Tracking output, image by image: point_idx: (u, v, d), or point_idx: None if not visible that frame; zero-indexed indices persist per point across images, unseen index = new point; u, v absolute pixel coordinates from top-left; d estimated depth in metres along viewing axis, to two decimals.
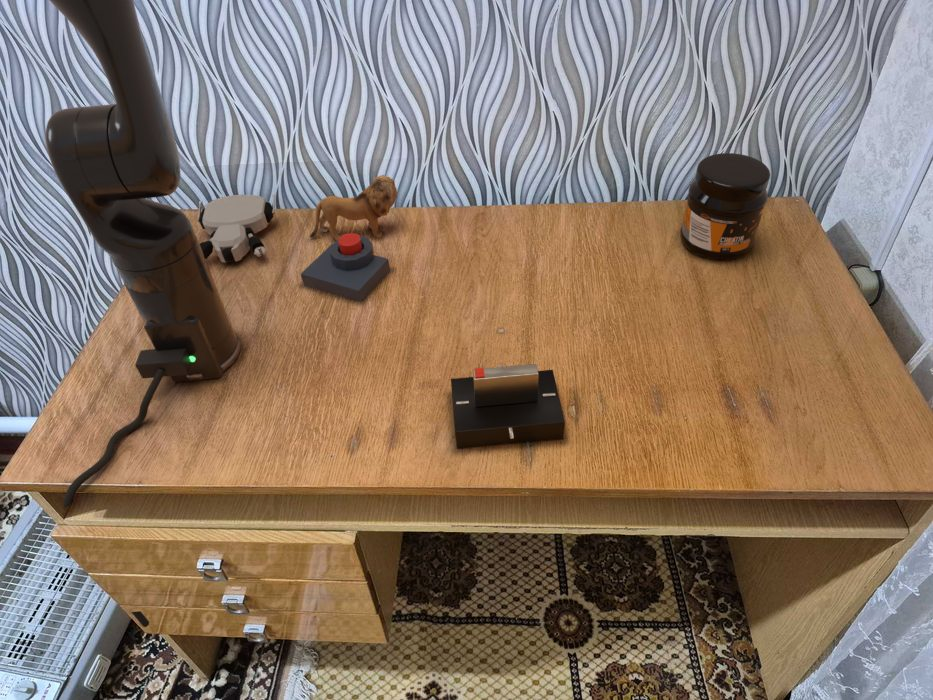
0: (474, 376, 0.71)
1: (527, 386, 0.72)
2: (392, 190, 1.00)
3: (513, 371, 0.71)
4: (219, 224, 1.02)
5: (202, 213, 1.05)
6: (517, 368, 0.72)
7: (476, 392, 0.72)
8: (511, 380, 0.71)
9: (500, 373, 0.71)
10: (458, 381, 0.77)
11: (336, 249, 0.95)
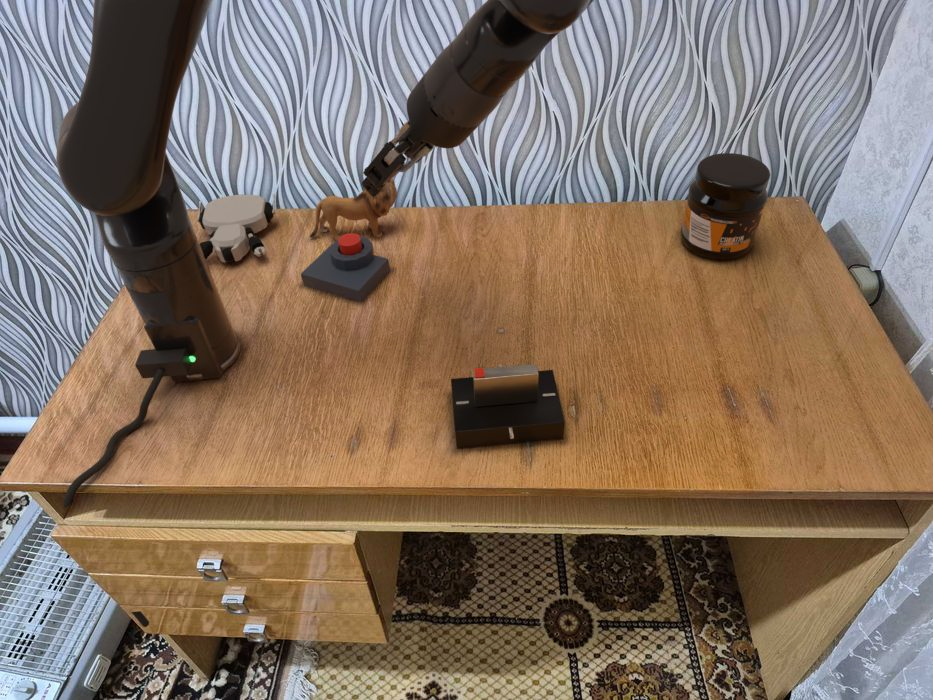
0: (474, 376, 0.71)
1: (527, 386, 0.72)
2: (392, 190, 1.00)
3: (513, 371, 0.71)
4: (219, 223, 1.02)
5: (202, 213, 1.05)
6: (517, 368, 0.72)
7: (476, 392, 0.72)
8: (511, 380, 0.71)
9: (500, 373, 0.71)
10: (458, 381, 0.77)
11: (336, 249, 0.95)
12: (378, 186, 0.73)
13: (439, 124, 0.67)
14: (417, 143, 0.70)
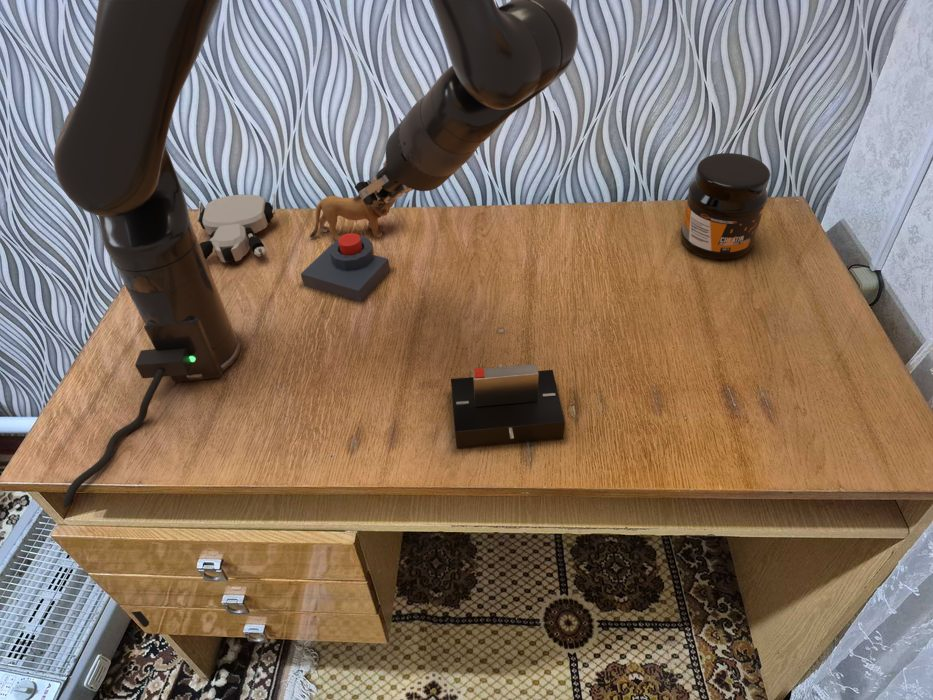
0: (474, 376, 0.71)
1: (527, 386, 0.72)
2: None
3: (513, 371, 0.71)
4: (219, 223, 1.02)
5: (202, 213, 1.05)
6: (517, 368, 0.72)
7: (476, 392, 0.72)
8: (511, 380, 0.71)
9: (500, 373, 0.71)
10: (458, 381, 0.77)
11: (336, 249, 0.95)
12: None
13: (409, 168, 0.68)
14: (391, 181, 0.71)
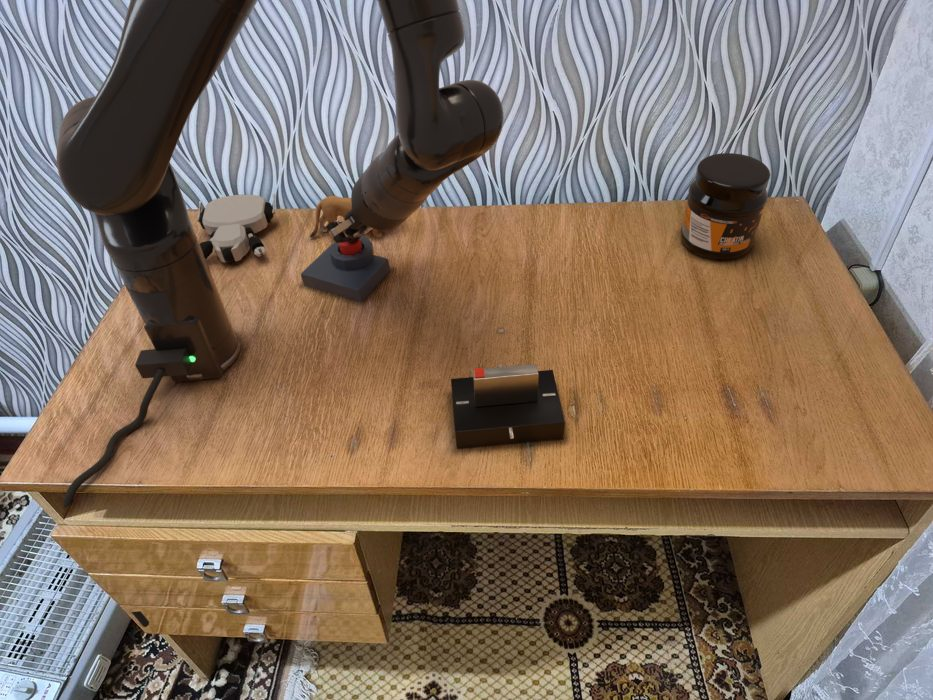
0: (474, 376, 0.71)
1: (527, 386, 0.72)
2: None
3: (513, 371, 0.71)
4: (219, 223, 1.02)
5: (202, 213, 1.05)
6: (517, 368, 0.72)
7: (476, 392, 0.72)
8: (511, 380, 0.71)
9: (500, 373, 0.71)
10: (458, 381, 0.77)
11: (336, 249, 0.95)
12: (345, 241, 0.89)
13: (370, 213, 0.79)
14: (356, 222, 0.82)
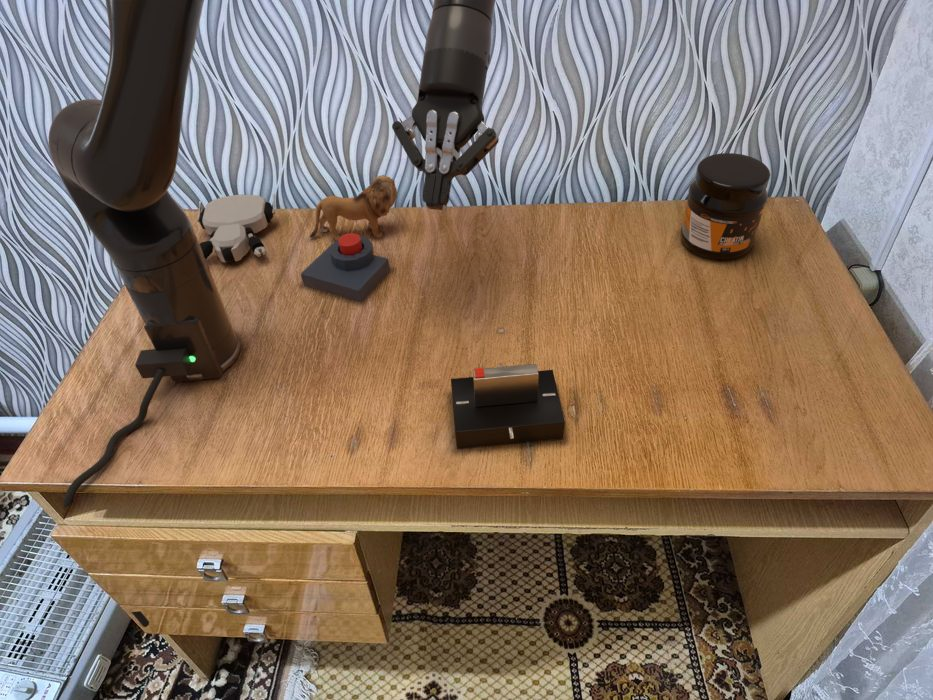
0: (474, 376, 0.71)
1: (527, 386, 0.72)
2: (392, 190, 1.00)
3: (513, 371, 0.71)
4: (219, 223, 1.02)
5: (202, 213, 1.05)
6: (517, 368, 0.72)
7: (476, 392, 0.72)
8: (511, 380, 0.71)
9: (500, 373, 0.71)
10: (458, 381, 0.77)
11: (336, 249, 0.95)
12: (468, 172, 0.77)
13: None
14: None
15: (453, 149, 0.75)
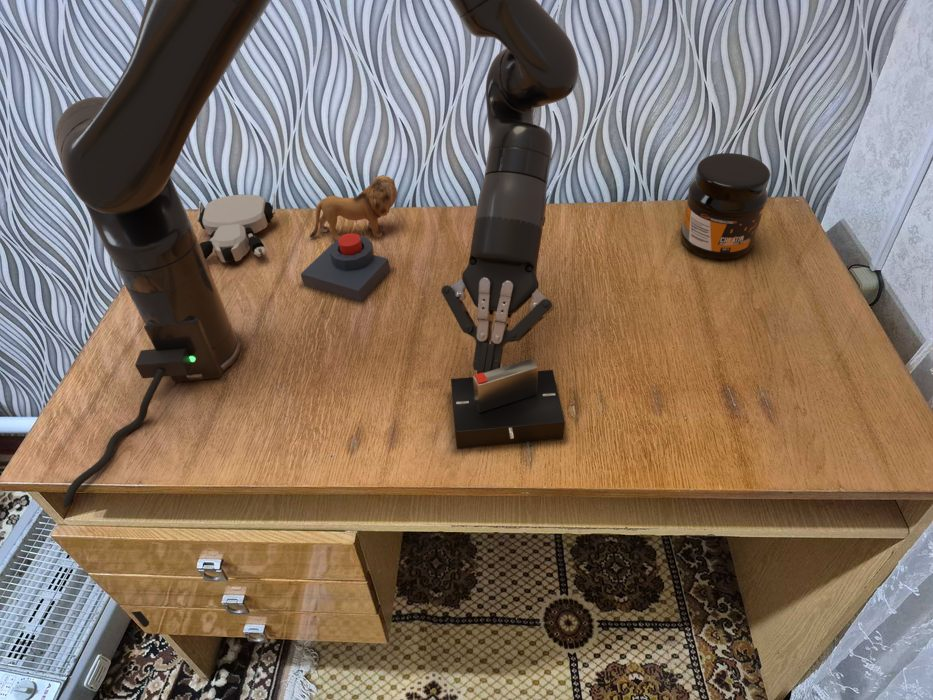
0: (477, 382, 0.70)
1: (527, 381, 0.72)
2: (392, 190, 1.00)
3: (512, 369, 0.71)
4: (219, 223, 1.02)
5: (202, 213, 1.05)
6: (515, 366, 0.72)
7: (480, 398, 0.71)
8: (512, 378, 0.71)
9: (501, 374, 0.71)
10: (458, 381, 0.77)
11: (336, 249, 0.95)
12: (521, 338, 0.73)
13: None
14: None
15: (506, 318, 0.72)
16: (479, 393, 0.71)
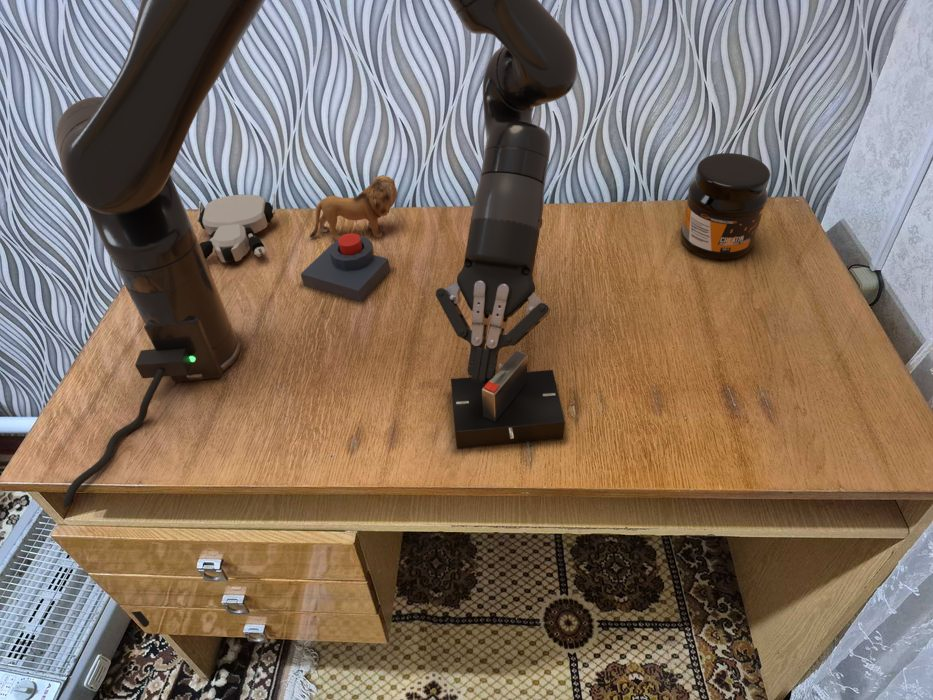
0: (491, 392, 0.69)
1: (522, 372, 0.74)
2: (392, 190, 1.00)
3: (510, 367, 0.72)
4: (219, 224, 1.02)
5: (202, 213, 1.05)
6: (509, 362, 0.72)
7: (495, 406, 0.70)
8: (514, 375, 0.72)
9: (504, 375, 0.71)
10: (458, 381, 0.77)
11: (336, 249, 0.95)
12: (517, 343, 0.72)
13: None
14: None
15: (502, 323, 0.70)
16: (495, 402, 0.70)
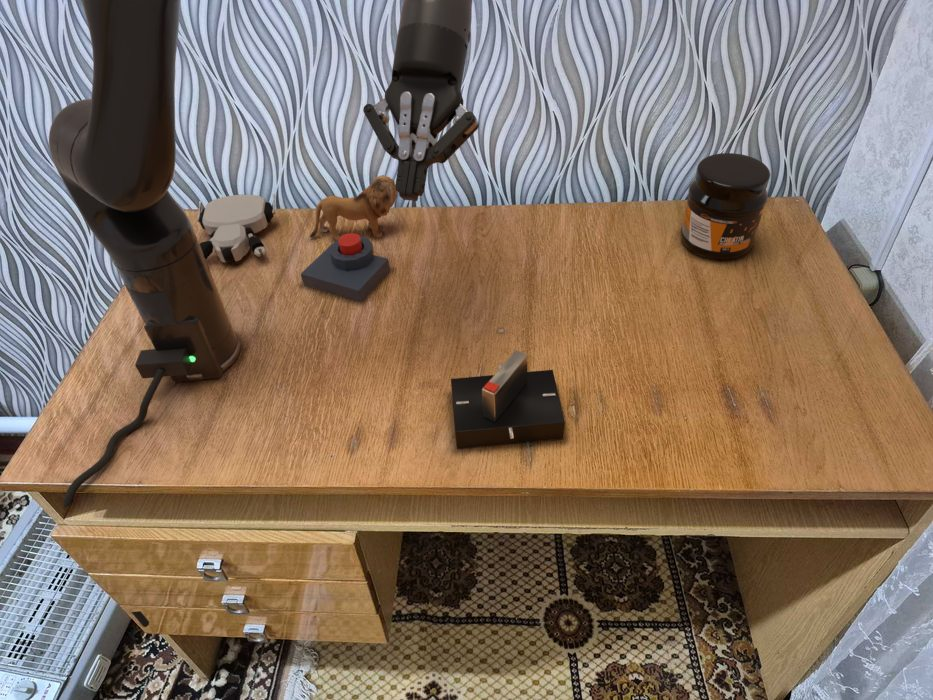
0: (491, 392, 0.69)
1: (522, 372, 0.74)
2: (392, 190, 1.00)
3: (510, 367, 0.72)
4: (219, 223, 1.02)
5: (202, 213, 1.05)
6: (509, 362, 0.72)
7: (495, 406, 0.70)
8: (514, 375, 0.72)
9: (504, 375, 0.71)
10: (458, 381, 0.77)
11: (336, 249, 0.95)
12: (446, 159, 0.71)
13: (465, 57, 0.71)
14: None
15: (429, 134, 0.69)
16: (495, 402, 0.70)
